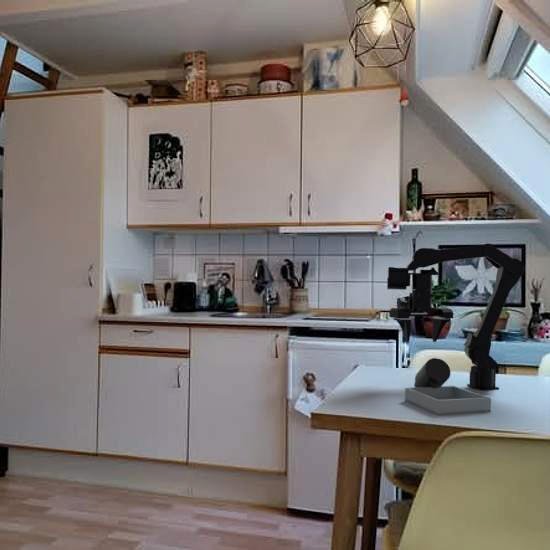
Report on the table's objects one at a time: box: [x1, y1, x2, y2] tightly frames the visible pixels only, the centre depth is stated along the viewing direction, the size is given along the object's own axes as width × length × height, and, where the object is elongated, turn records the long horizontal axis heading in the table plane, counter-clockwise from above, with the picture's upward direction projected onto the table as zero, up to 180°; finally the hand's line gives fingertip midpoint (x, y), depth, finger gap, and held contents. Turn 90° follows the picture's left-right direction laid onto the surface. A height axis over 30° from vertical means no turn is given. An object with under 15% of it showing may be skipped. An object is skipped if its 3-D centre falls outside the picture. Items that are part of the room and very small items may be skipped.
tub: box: [404, 385, 492, 416], centre depth 130 cm, size 15×15×4 cm
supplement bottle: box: [413, 357, 452, 388], centre depth 139 cm, size 7×7×12 cm
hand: (420, 342), depth 156 cm, fingers open, 9 cm apart
